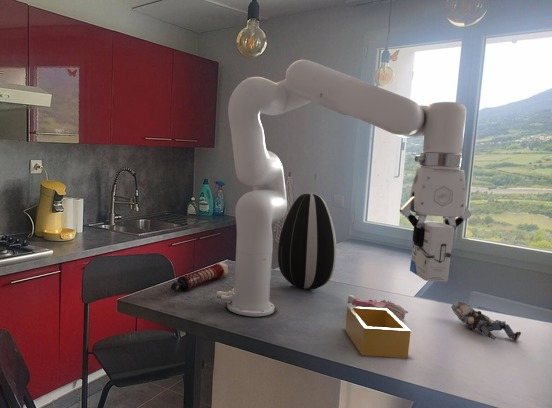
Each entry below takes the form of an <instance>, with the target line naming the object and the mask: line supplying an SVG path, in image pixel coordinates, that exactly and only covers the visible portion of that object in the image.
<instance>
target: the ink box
mask: <svg viewBox="0 0 552 408" xmlns="http://www.w3.org/2000/svg"><path fill="white" fill-rule="evenodd" d="M423 229H425V233H424V242H423V246H422V247H418V246H416V245H414V242H413V241H412V243H413V244H412V250H411V258H410V265H409V271H410V272H411V273H413V274H414V275H416V276H418V277H419V278H420V279H422V280H424V281H426V282H441V283H442V282H443V283H448V281H449V271H450V265H451V257H452V250H453V243H454V241H453V240H454V235H455V234H454V232H455V230H454V227H452V226H449V225H447V224H444V222H441V221H439V220H425V221H424V224H423Z"/></svg>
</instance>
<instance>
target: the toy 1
mask: <svg viewBox="0 0 552 408" xmlns="http://www.w3.org/2000/svg"><path fill="white" fill-rule="evenodd" d="M346 303H347V304H351V305H352V306H354V307H365V308H381V309H388V310H389V311H390V312H391V313H392V314H393V315H395V316H396V317H397V318H398V319H399V320H400V321H401V322H402V323H404V321H405V320H404V319H405V316H406V314H409V311H407V310H405V309H404V308H403V307H402V306H401V305H399V304H395V303H394V302H392V300H391V301H390V300H387V301H386V300H385V299H383V300H380V301H378V300H376V299H374V300H373V299H368V300H364V299H360V298H358V297H357V296H355V295H353V294H349V295H348V297H347V302H346Z"/></svg>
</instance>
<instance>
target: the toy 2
mask: <svg viewBox="0 0 552 408" xmlns="http://www.w3.org/2000/svg"><path fill="white" fill-rule="evenodd" d="M450 308H451V310H452V311H453V313H454V315H455V316H456V317H457V318H458V320H459V321H461V322H462V324H465V325H466V326H467V327H468V329H469V330H470V331H473V330H476V329H477V330H478V331H479V333H483V334H485V336H486V337H487V338H488V339H491V340H493V341H495V340H496V338H497V337H496V336H495V334H493V333H492V332H495V331H502V330H503V331H504V333H505V334H506V336H507V337H508V338H509V339H511V340H513V341H514V342H517V341H518V340H519V338H520V336H521V335H522V332H521V331H516V332H515V331H513V329H512V328H511V326H510V324H508V323H506V320H503V321H501V320H498V319H495V320H493V319H490V317H489V316H488V315H485V314H483V313H482V311H480V310H476V309H474V308H473V307H472V306H471V305H470V304H466V303H465V302H463V300H458V299H455V301H453V304H451V306H450Z"/></svg>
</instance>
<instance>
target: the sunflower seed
mask: <svg viewBox="0 0 552 408" xmlns="http://www.w3.org/2000/svg"><path fill="white" fill-rule="evenodd" d="M337 247H338V246H337V238H336V231H335V226H334V222H333V218H332V215H331V212H330V210H329V207H328V205H327V203H326V201H325V199H324V198H322V197H321V196H320V195H319V194H316V193H313V192H309V193H302V194H301V195H299V196H298V197H297V198H295V200H294V201H293V203H292V204H291V206H290V207H289V210H288V212H287V214H286V216H285V218H284V220H283V224H282V227H281V230H280V233H279V238H278V245H277V265H278V268H279V272H280V273H281V275H282V276H283V277H284V279H285V280H286V281H287V282H288V283H289V284H291V285H292V286H295V287H297V288H300V289H301V288H302V289H306V290H315V289H318V288H321V287H323V286H325V285H326V284H327V283H328V282H330V281H331V279H332V277H333V275H334V272H335V269H336V265H337V264H336V263H337Z"/></svg>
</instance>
